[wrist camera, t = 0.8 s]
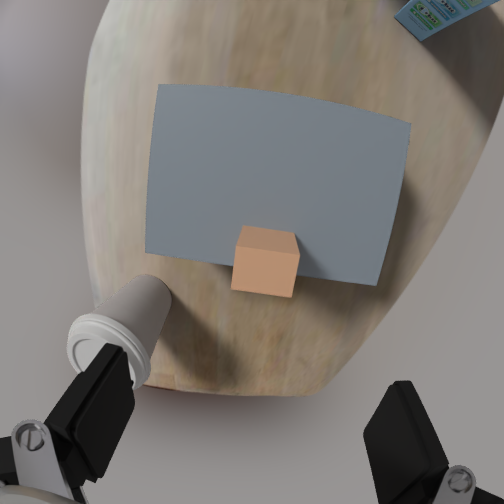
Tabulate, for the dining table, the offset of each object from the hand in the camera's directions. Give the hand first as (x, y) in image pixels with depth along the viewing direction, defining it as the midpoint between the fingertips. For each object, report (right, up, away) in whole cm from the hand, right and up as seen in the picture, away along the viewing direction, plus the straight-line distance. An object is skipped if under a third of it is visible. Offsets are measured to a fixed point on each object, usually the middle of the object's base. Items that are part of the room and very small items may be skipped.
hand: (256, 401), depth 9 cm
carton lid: (+2, +10, +13) cm, 17 cm away
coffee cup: (-14, -1, +30) cm, 33 cm away
